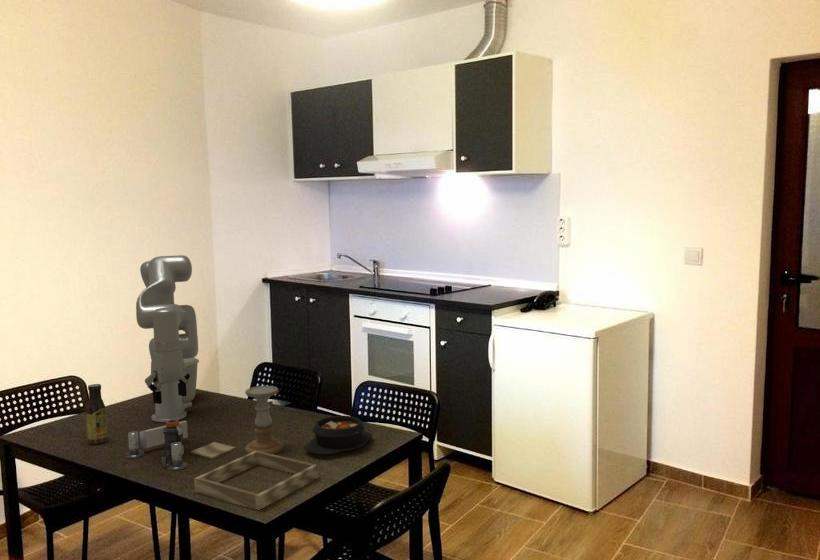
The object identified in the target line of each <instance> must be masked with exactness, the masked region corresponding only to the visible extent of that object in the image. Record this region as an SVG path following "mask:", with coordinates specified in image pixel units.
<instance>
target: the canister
mask: <svg viewBox="0 0 820 560" xmlns="http://www.w3.org/2000/svg"><path fill="white" fill-rule="evenodd" d="M199 363H200V360H199V359H198V358H196V357H194V358H188V359H184V366H186V367H189V368H191V369H192V370H191V373H190V377H189V379H188V383H187V384H186V394H187V395H186V396H181V399H182V403H183V402H184V403H188V402H192V401H193V400H194V399H195V396H196V392H197V381H198V380H197V378H198V364H199Z"/></svg>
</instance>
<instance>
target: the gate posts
mask: <svg viewBox="0 0 820 560" xmlns="http://www.w3.org/2000/svg"><path fill="white" fill-rule="evenodd" d="M127 441H128V452H125V453H124V458H125V459H138V458H140V457H143V456H144V455H145V450H142V449H140V440H139V431H137V430H134V431H133V430H132V431H129V432H128V433H127ZM171 454H172V458H171V463H169V458H168V457H166V456H165V455H164V456H161V467H162V468H165V469H167V470H168V471H173V472H175V471H177V472H178V471H182V470H185V469H187V468H188V462H186V461H183V455H182V448H181V442H173V443H171Z"/></svg>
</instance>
